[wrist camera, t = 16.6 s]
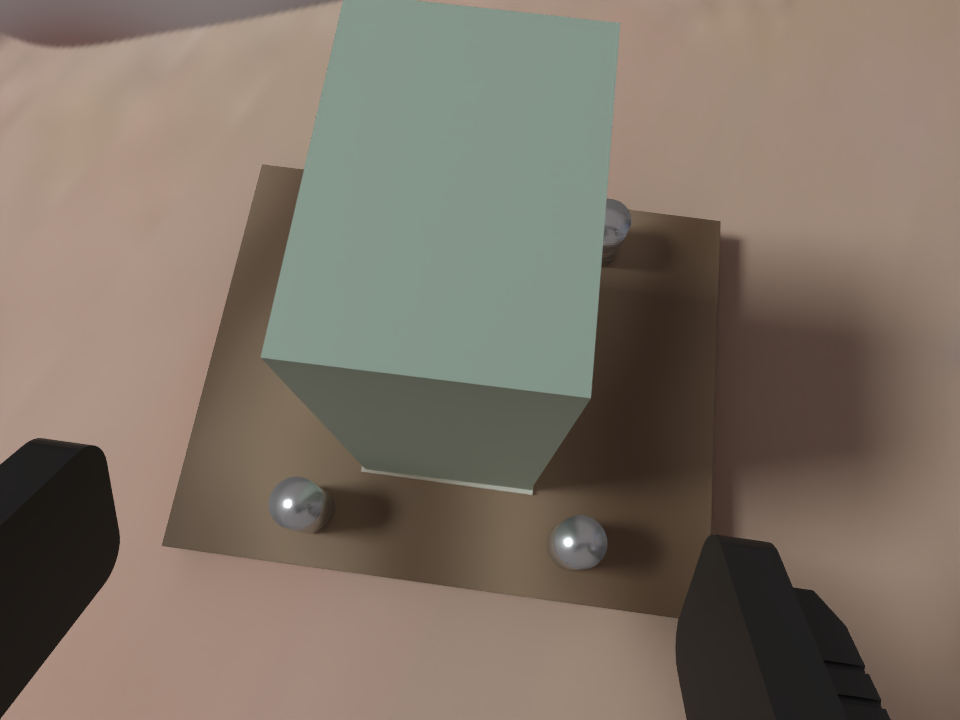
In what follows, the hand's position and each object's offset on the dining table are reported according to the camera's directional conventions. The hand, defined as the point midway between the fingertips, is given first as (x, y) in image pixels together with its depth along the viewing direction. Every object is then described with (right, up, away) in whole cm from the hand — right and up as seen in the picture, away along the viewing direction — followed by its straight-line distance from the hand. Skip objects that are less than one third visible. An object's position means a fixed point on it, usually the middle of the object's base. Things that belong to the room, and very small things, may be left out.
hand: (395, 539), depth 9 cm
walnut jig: (+1, +2, +14) cm, 14 cm away
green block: (+1, +2, +13) cm, 13 cm away
